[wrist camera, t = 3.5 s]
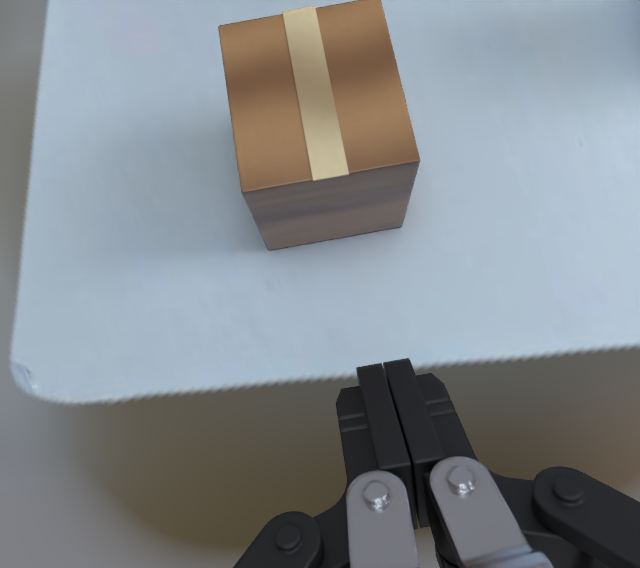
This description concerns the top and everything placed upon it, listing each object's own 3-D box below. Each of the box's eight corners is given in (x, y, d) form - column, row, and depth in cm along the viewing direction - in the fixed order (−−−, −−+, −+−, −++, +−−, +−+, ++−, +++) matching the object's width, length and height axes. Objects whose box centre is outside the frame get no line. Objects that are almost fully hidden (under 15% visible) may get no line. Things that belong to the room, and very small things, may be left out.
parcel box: (402, 227, 30) (421, 161, 23) (268, 251, 30) (241, 193, 23) (372, 95, 33) (380, -7, 25) (248, 117, 33) (217, 23, 25)
